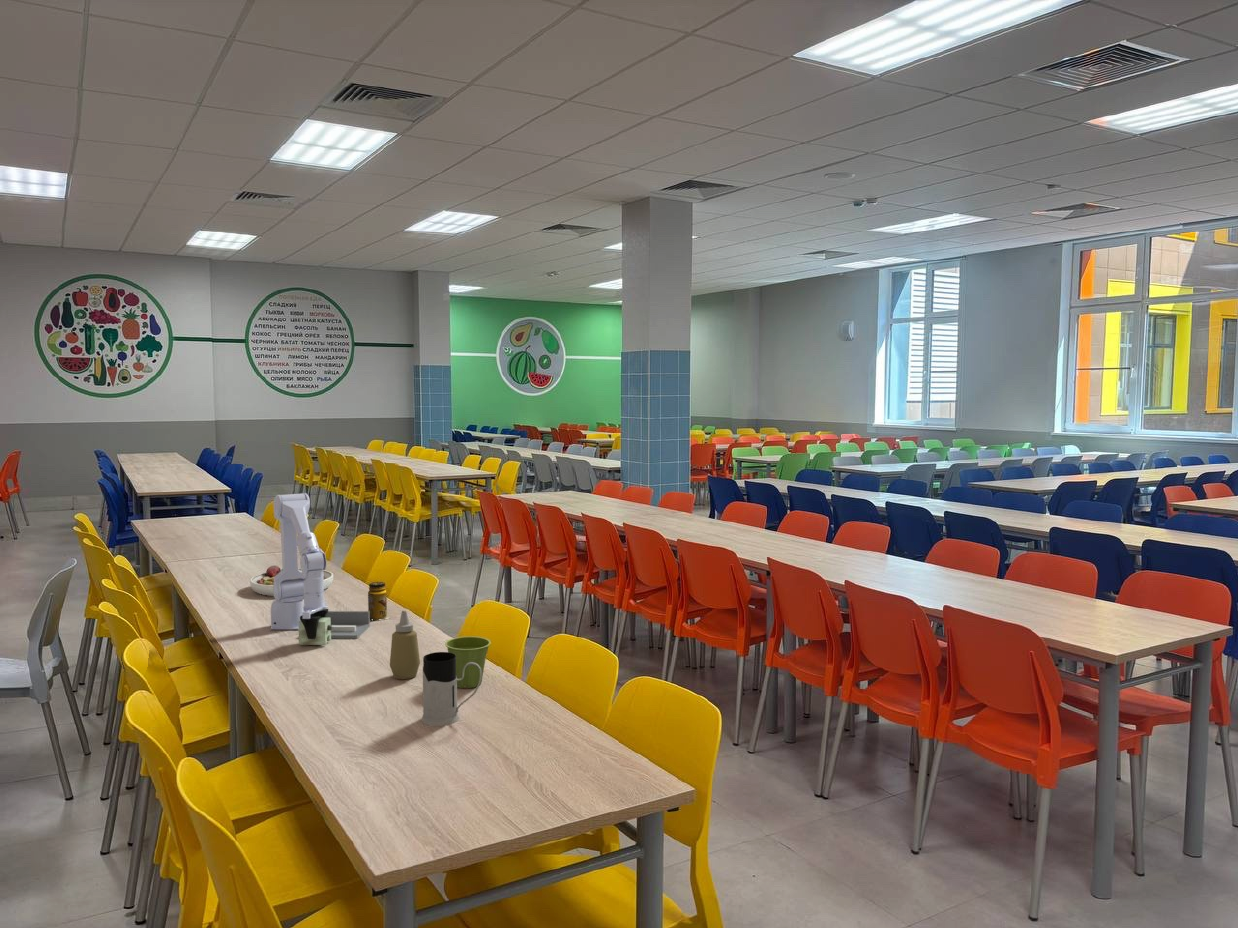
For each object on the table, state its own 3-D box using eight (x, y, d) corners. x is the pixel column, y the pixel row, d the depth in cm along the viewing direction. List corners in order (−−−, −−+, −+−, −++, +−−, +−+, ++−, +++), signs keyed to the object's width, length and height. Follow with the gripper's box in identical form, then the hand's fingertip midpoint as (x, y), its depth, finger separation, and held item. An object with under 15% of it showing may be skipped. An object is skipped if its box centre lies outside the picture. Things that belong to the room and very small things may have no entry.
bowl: (350, 587, 337) (349, 567, 336) (283, 602, 312) (283, 581, 311) (300, 577, 353) (299, 558, 352) (233, 591, 328) (233, 571, 327)
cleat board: (299, 638, 267) (298, 622, 266) (314, 625, 281) (314, 610, 280) (357, 638, 267) (357, 622, 267) (369, 626, 281) (369, 611, 280)
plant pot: (476, 694, 219) (476, 651, 218) (436, 688, 223) (436, 646, 222) (499, 679, 230) (498, 638, 229) (460, 674, 234) (459, 634, 233)
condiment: (390, 618, 290) (390, 583, 289) (365, 622, 285) (365, 586, 284) (383, 614, 296) (383, 579, 295) (359, 617, 292) (358, 582, 290)
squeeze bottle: (426, 673, 235) (425, 608, 233) (409, 682, 227) (408, 616, 226) (400, 670, 238) (399, 606, 236) (383, 679, 230) (382, 613, 228)
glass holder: (426, 711, 207) (425, 650, 206) (485, 712, 207) (484, 651, 206) (416, 725, 199) (416, 662, 197) (478, 726, 198) (477, 663, 197)
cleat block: (298, 644, 258) (298, 621, 258) (304, 639, 263) (304, 617, 263) (328, 644, 258) (328, 621, 258) (333, 639, 263) (333, 617, 263)
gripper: (319, 597, 252) (320, 643, 253) (334, 586, 267) (335, 629, 268) (294, 597, 252) (296, 642, 253) (311, 586, 267) (312, 629, 268)
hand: (314, 635), depth 261 cm, fingers closed on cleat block, 5 cm apart
